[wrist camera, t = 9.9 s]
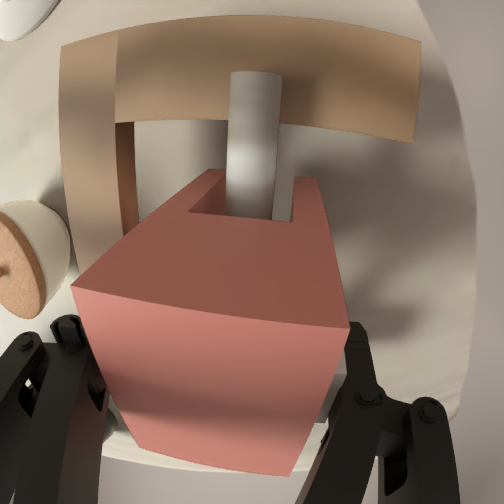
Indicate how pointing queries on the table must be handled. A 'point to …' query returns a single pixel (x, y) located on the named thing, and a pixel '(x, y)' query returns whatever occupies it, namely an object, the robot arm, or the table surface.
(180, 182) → the table surface
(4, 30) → the candlestick
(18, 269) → the lidded jar
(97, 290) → the salmon red channel block
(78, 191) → the wooden frame with rod
